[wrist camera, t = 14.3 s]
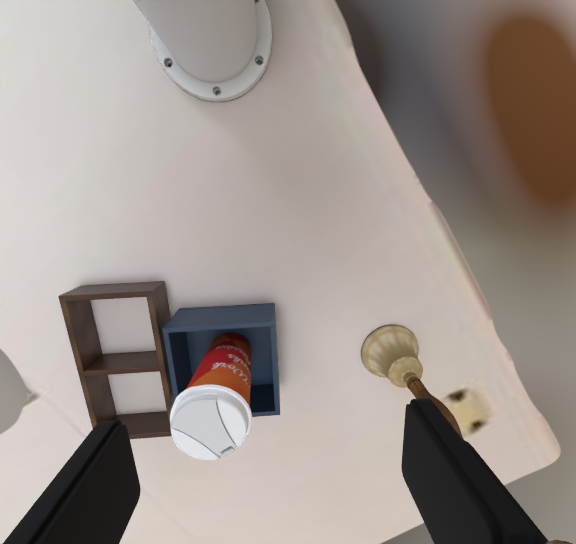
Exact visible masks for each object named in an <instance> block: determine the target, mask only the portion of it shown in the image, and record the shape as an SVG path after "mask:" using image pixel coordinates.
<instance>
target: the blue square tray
mask: <svg viewBox="0 0 576 544" xmlns="http://www.w3.org/2000/svg"><path fill="white" fill-rule="evenodd" d="M224 333H237V334H240V335H242V336H243V337H245V338H246V339H247V340H248V342H249V344H250V347H251V384H250V409H251V413H252V417H256V416H270V415H280V393H279V372H278V355H277V338H276V321H275V304H274V303H271V304H253V305H236V306H219V307H201V308H184V309H179V310H178V311H177V312H176V313H175V315H174V316H173V317H172V318H171V319H170V320H169V322H168V323H167V324H166V325H165V326H164V327H163V335H164V341H165V347H166V353H167V359H168V365H169V371H170V377H171V383H172V389H173V395H174V401H175V399H176V397H177V396H178V395H179V394H180V393H182V392H183V391H184V390H186V388H187V386H188V384H189V383H190V381H191V379H192V377H193V375H194V374H195V372H196V370H197V368H198V367H199V365H200V363H201V361H202V359H203V358H204V356H205V354H206V353H207V351H208V349H209V347H210V346H211V344H212V343H213V341H214V340H215V339H216V338H217V337H218V336H220V335H221V334H224Z"/></svg>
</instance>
